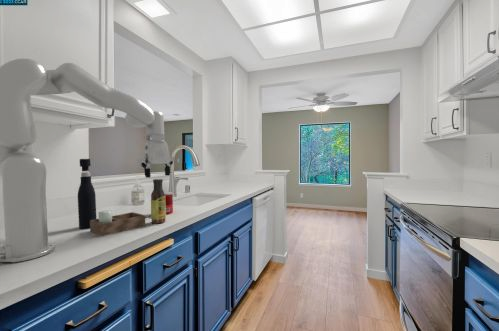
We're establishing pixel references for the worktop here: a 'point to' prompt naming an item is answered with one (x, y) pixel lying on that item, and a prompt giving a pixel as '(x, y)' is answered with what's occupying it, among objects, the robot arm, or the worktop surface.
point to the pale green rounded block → (105, 217)
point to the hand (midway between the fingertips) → (158, 176)
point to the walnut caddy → (117, 224)
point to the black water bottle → (86, 197)
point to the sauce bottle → (158, 203)
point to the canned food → (169, 202)
